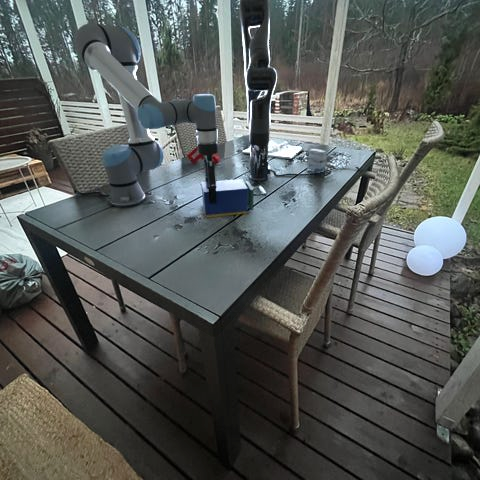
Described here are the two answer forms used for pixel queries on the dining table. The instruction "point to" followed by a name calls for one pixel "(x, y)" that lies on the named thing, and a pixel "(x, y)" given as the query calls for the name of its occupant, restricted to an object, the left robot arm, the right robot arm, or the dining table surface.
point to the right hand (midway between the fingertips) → (258, 174)
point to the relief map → (280, 150)
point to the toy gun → (200, 156)
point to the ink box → (316, 160)
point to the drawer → (251, 194)
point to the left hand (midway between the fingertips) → (211, 197)
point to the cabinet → (226, 198)
